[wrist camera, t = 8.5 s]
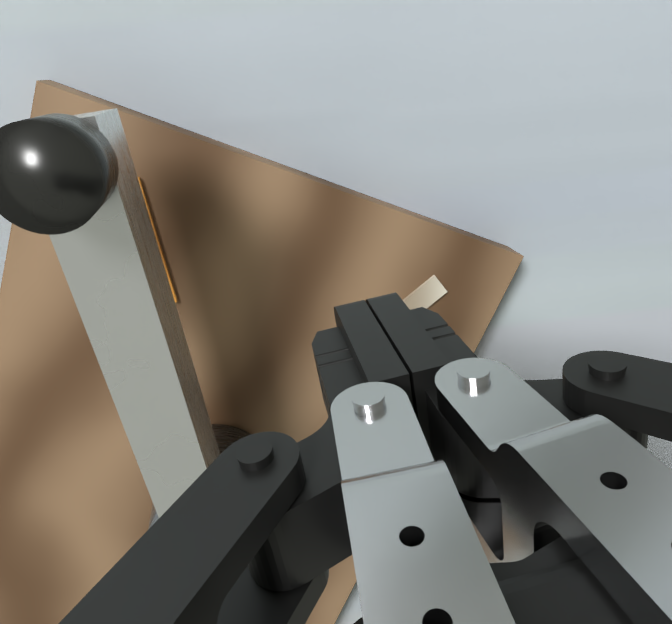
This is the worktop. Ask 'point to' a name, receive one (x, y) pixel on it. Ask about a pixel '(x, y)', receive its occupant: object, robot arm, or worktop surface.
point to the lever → (115, 287)
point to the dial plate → (198, 339)
